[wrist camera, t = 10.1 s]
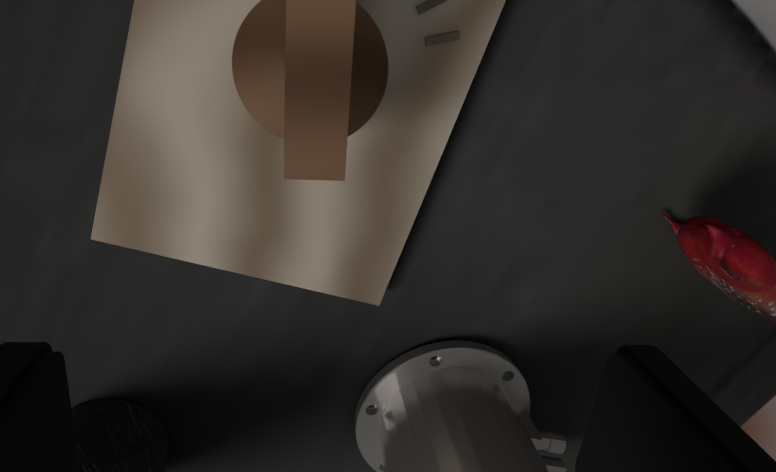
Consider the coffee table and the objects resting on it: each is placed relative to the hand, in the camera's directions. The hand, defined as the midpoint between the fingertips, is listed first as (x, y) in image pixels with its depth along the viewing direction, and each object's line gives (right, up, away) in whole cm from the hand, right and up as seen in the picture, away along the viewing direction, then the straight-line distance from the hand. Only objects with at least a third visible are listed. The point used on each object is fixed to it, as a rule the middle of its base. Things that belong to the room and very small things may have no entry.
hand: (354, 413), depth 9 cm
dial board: (-3, +12, +18) cm, 22 cm away
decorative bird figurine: (+21, +2, +28) cm, 35 cm away
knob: (-3, +13, +16) cm, 21 cm away
